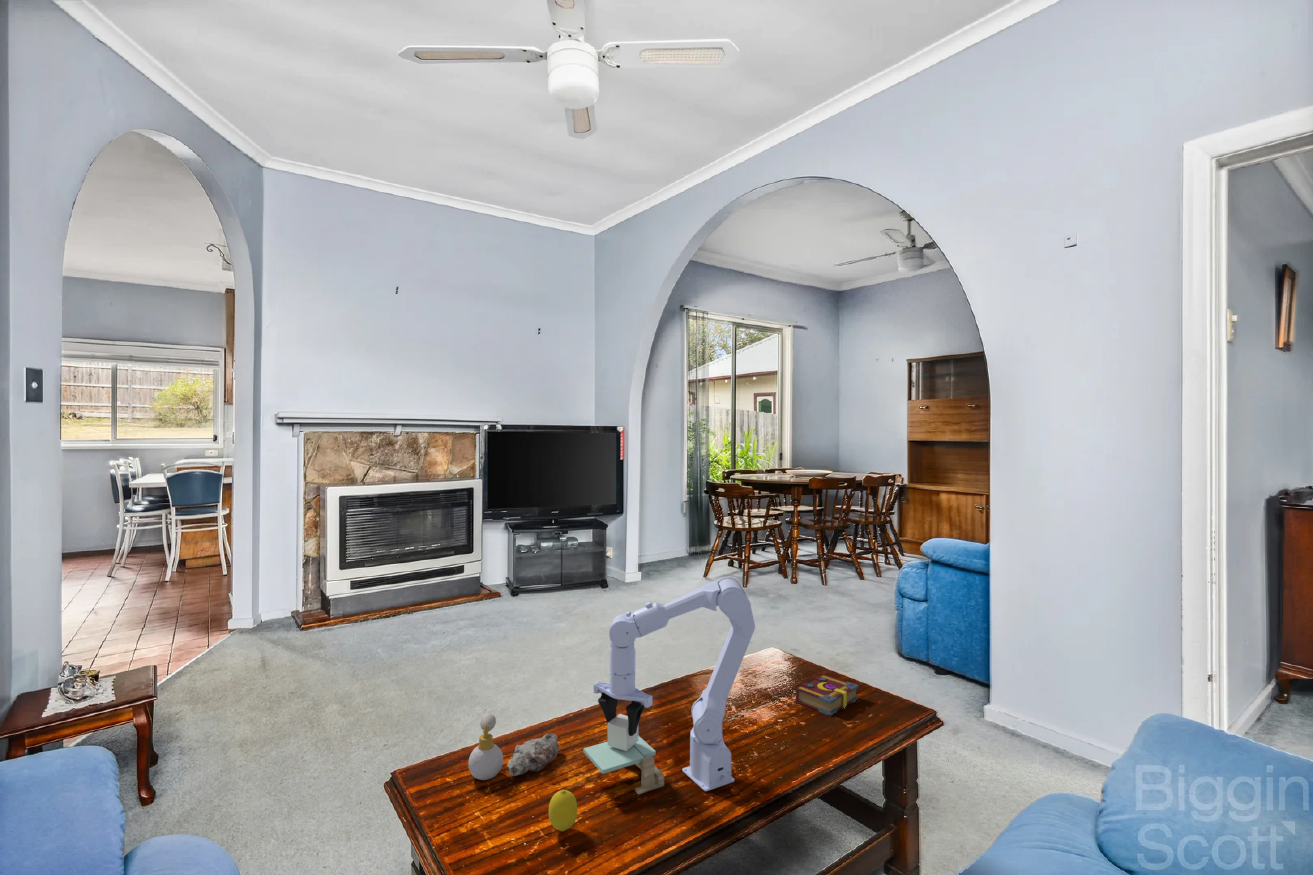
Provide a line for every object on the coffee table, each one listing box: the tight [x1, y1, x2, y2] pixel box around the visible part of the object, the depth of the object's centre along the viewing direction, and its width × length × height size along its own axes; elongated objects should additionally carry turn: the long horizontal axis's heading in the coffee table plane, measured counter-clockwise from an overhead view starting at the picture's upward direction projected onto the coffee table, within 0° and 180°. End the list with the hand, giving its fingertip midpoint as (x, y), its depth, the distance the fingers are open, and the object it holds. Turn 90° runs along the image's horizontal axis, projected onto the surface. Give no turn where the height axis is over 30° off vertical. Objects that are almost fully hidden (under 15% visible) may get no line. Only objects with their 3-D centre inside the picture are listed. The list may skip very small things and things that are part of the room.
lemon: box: [548, 789, 578, 832], centre depth 120 cm, size 6×6×8 cm
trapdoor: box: [582, 735, 657, 775], centre depth 138 cm, size 11×14×2 cm
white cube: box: [606, 713, 639, 751], centre depth 140 cm, size 5×5×5 cm
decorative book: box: [795, 674, 859, 717], centre depth 178 cm, size 11×16×5 cm
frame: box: [634, 756, 665, 795], centre depth 140 cm, size 14×6×7 cm, turn 30°
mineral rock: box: [506, 732, 560, 777], centre depth 144 cm, size 15×8×4 cm, turn 133°
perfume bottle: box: [468, 712, 504, 781], centre depth 140 cm, size 8×10×12 cm
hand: (622, 730), depth 140 cm, fingers closed on white cube, 5 cm apart
